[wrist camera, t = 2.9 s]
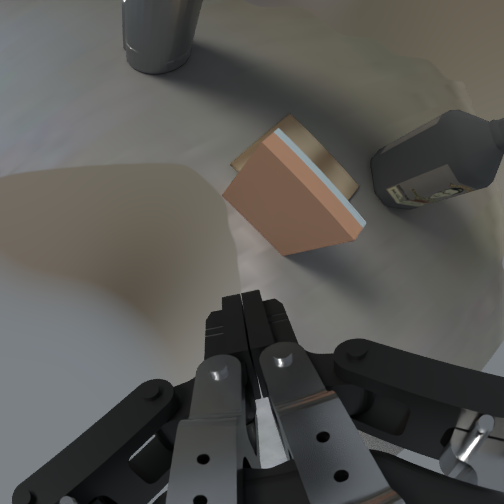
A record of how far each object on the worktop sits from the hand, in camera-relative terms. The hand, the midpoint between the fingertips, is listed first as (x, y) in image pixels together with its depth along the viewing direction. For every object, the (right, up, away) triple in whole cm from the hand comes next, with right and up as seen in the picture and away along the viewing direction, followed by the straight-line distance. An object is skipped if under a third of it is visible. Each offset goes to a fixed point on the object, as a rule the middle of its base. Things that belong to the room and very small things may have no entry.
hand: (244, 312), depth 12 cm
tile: (+1, +6, +23) cm, 23 cm away
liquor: (+22, +14, +30) cm, 40 cm away
